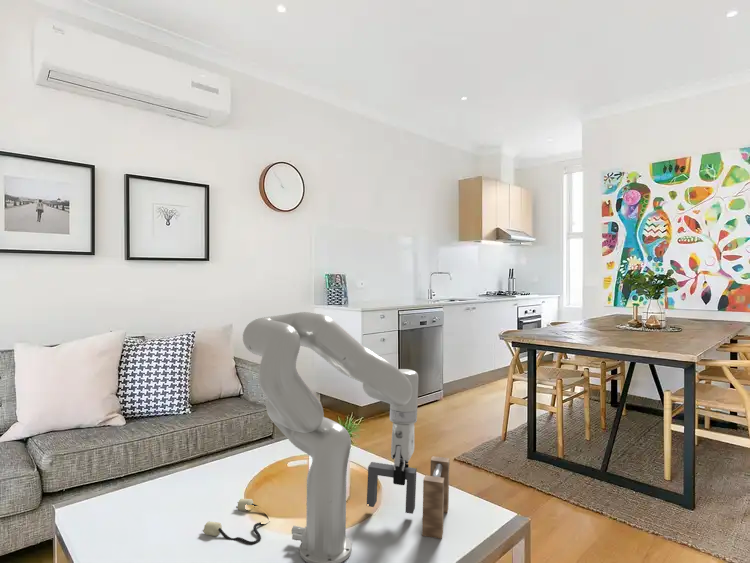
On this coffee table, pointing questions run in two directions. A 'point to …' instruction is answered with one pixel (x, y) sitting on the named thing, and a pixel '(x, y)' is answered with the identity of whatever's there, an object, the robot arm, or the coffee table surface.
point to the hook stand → (435, 497)
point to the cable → (216, 527)
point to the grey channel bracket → (388, 471)
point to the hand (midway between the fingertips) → (400, 480)
